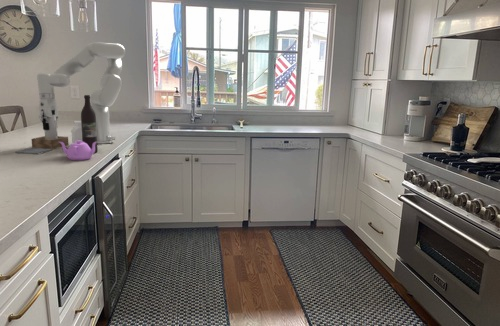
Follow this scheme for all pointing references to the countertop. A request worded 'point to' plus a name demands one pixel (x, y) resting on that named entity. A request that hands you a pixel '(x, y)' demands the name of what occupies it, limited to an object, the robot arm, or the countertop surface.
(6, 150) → the countertop surface
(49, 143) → the collar
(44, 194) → the countertop surface
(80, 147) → the teapot
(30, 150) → the mat
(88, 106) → the wine bottle
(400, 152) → the countertop surface
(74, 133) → the jar
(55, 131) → the travel mug
